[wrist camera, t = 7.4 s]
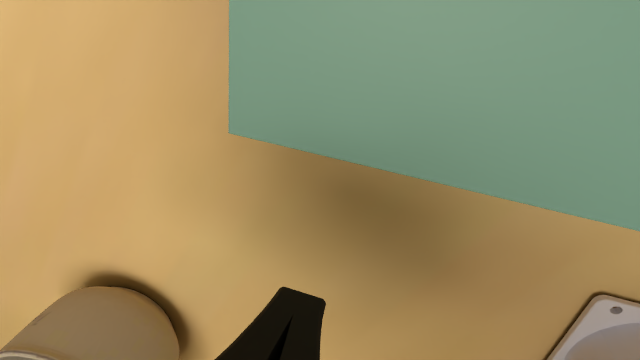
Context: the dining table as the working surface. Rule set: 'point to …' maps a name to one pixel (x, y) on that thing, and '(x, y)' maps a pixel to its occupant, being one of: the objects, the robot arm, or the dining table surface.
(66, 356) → the teacup
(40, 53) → the dining table surface
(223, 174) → the dining table surface
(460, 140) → the lid
